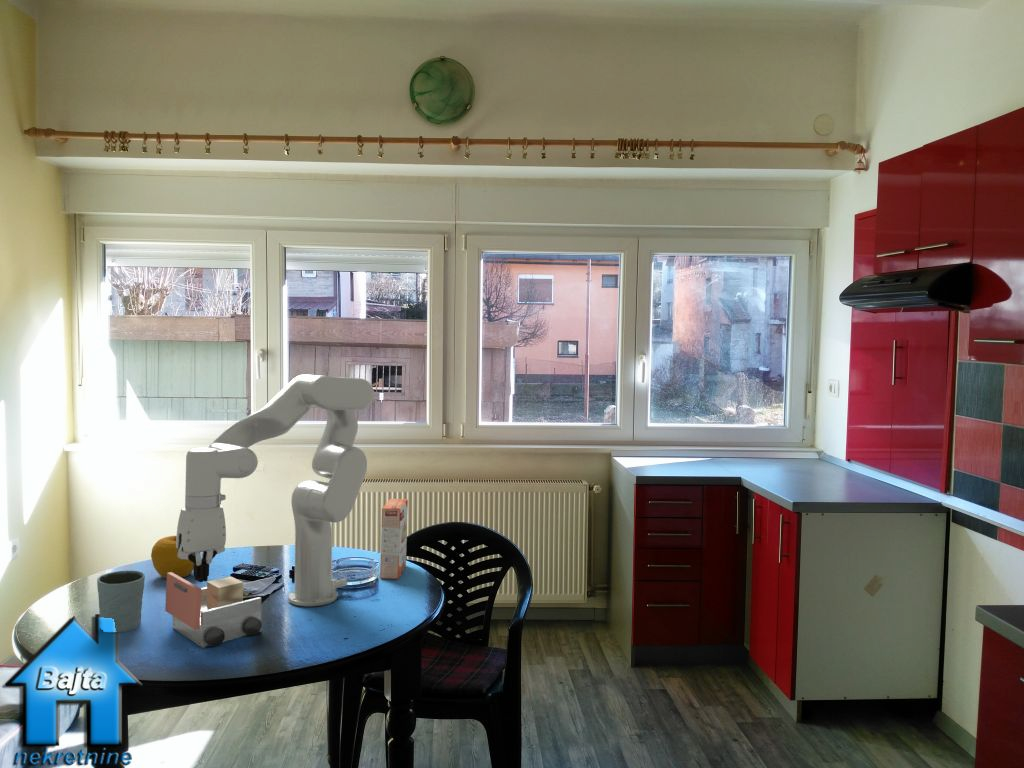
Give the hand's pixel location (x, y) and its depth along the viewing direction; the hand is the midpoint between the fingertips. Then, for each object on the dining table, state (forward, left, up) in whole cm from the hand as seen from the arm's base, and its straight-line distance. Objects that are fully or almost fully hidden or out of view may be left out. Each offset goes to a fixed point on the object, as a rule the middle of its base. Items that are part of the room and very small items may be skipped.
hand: (201, 580), depth 176 cm
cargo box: (-6, 0, -8) cm, 10 cm away
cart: (-4, 0, -13) cm, 13 cm away
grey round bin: (+11, -17, -13) cm, 24 cm away
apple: (-14, -46, -13) cm, 50 cm away
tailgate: (+4, 0, -8) cm, 9 cm away
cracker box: (-62, -7, -13) cm, 63 cm away
